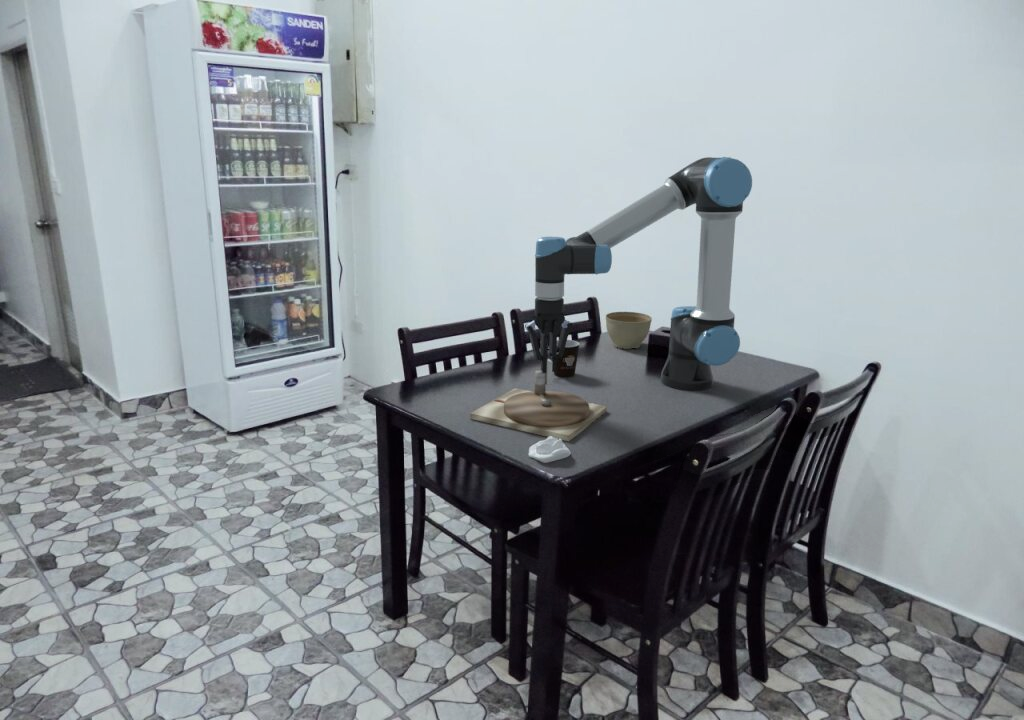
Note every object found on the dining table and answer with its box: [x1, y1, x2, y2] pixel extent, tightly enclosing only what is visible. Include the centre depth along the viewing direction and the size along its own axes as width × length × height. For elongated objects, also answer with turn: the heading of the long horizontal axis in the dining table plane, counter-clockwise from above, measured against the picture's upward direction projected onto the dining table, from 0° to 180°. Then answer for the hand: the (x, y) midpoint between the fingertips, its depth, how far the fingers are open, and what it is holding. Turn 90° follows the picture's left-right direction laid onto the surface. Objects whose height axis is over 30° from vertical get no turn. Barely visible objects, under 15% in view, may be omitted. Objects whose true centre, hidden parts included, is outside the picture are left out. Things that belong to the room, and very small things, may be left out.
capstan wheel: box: [504, 370, 589, 427], centre depth 174 cm, size 22×22×8 cm
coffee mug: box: [548, 339, 580, 379], centre depth 209 cm, size 12×9×10 cm
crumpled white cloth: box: [528, 436, 572, 464], centre depth 153 cm, size 10×4×10 cm
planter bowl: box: [605, 311, 653, 350], centre depth 241 cm, size 16×16×11 cm
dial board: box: [469, 388, 608, 442], centre depth 176 cm, size 28×23×2 cm
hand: (547, 383), depth 183 cm, fingers closed
